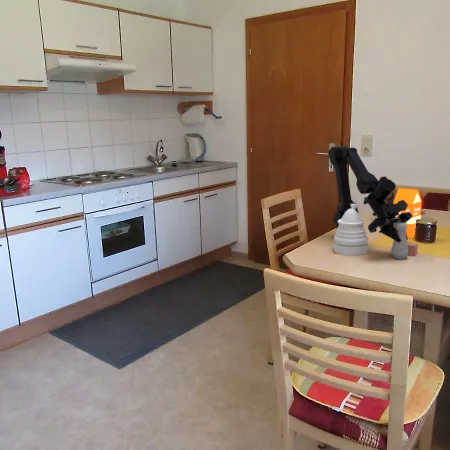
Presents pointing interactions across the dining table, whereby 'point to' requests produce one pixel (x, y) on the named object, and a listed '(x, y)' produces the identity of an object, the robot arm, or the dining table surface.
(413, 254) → the cube
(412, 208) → the orange juice
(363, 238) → the honey pot
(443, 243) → the dining table surface
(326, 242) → the dining table surface
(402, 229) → the salt shaker
